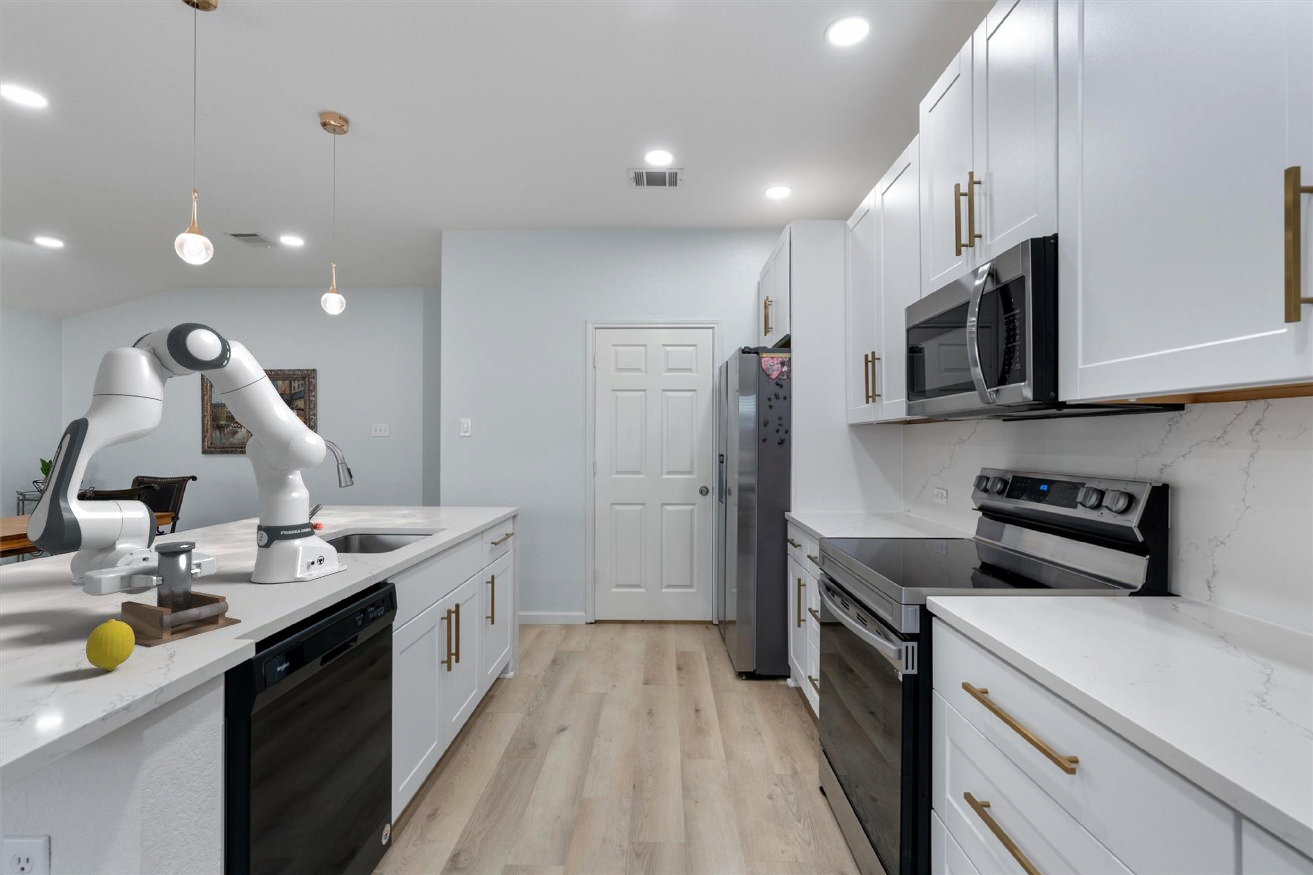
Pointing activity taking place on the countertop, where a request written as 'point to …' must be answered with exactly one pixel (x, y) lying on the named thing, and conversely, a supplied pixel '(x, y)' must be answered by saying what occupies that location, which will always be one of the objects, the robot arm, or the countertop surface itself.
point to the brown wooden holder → (176, 619)
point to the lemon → (110, 644)
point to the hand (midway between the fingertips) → (177, 577)
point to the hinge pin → (175, 575)
